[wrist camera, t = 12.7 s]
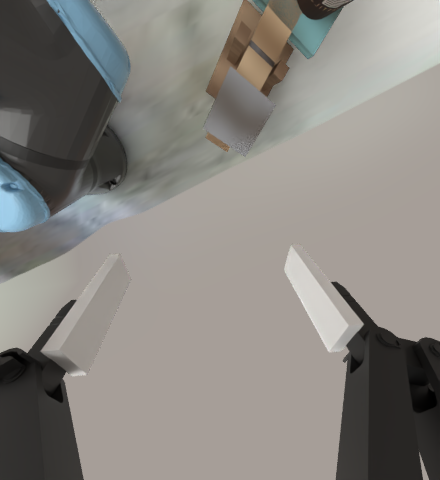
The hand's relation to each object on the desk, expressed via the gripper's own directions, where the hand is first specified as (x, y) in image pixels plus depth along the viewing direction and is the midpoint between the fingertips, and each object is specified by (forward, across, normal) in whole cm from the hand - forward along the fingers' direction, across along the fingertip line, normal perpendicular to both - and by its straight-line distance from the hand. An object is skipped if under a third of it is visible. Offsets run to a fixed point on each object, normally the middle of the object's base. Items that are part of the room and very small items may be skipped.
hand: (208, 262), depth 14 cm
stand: (+31, +8, +16) cm, 36 cm away
